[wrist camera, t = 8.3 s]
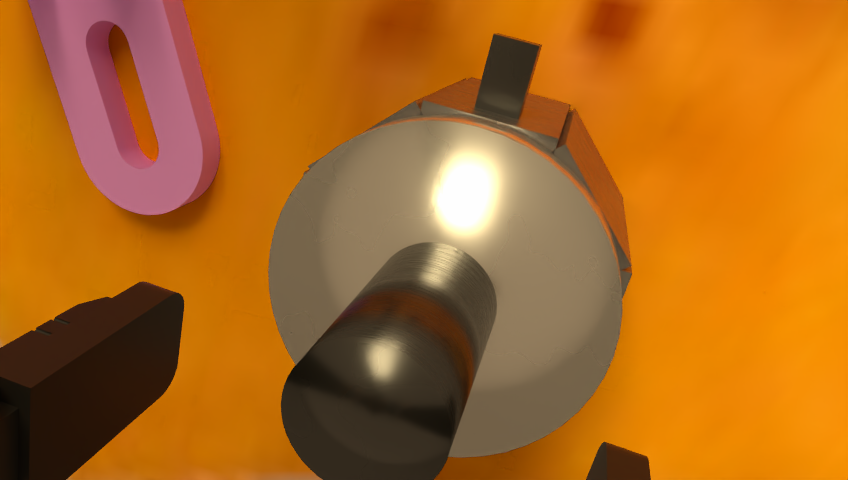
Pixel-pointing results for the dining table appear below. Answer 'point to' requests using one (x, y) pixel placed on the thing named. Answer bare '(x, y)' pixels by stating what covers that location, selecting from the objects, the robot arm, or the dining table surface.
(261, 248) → the dining table surface
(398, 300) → the lid
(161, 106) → the bracket
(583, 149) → the pot
